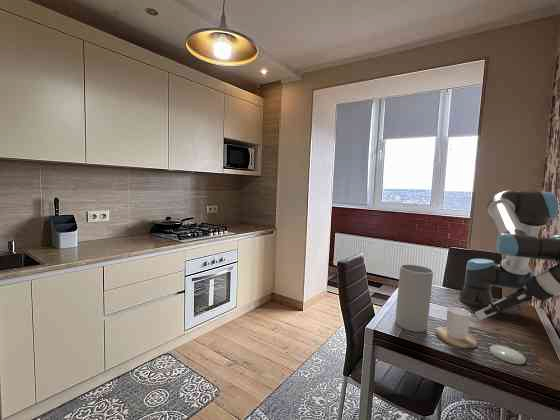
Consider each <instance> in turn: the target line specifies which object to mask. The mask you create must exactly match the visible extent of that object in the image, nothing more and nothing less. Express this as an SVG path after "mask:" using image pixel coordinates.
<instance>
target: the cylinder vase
mask: <svg viewBox="0 0 560 420" xmlns="http://www.w3.org/2000/svg"><path fill="white" fill-rule="evenodd" d="M433 277H434V270H433V269H431V268H429V267H427V266H422V265H417V264H409V263H407V264H405V263H404V264H401V265H400V267H399V277H398V287H397V296H396V297H397V301H396V308H395V309H396V310H395V319H394V321H395V324H396V325H397V326H398V327H400V328H402V329H404V330H405V331H410V332H414V333H423V332H426V331H427V330H428V323H429V315H430V314H429V313H430V305H431V296H432V287H433V286H432V285H433Z"/></svg>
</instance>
